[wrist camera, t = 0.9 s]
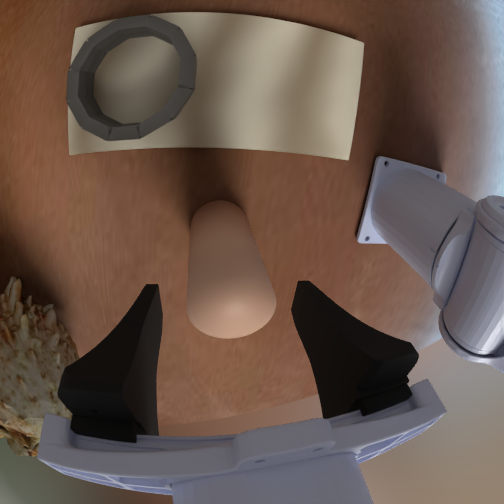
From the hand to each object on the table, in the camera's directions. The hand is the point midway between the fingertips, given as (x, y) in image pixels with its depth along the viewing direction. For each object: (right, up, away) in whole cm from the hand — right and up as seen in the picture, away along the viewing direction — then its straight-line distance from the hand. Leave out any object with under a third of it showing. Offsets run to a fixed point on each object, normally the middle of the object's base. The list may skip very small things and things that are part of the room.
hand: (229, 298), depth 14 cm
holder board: (-1, +14, +1) cm, 14 cm away
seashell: (-23, -5, +9) cm, 25 cm away
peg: (-1, +4, +7) cm, 8 cm away
